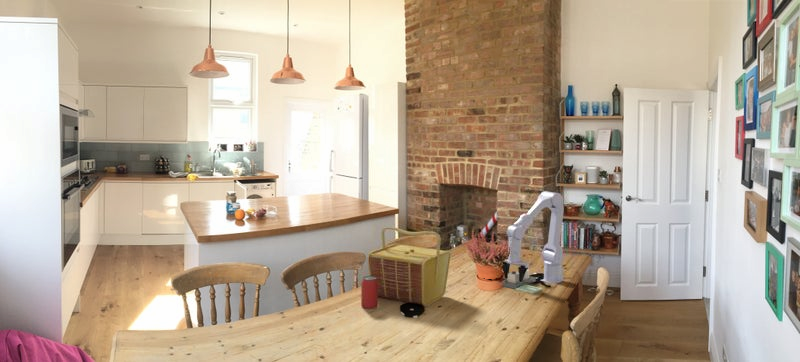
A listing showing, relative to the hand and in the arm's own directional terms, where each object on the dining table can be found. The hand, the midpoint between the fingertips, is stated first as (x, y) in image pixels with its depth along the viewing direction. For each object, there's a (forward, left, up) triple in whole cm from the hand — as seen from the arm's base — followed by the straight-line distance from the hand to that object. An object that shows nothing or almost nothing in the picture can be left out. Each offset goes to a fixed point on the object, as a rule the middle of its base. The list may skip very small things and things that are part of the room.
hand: (513, 279), depth 245 cm
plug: (0, 0, -3) cm, 3 cm away
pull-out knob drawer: (-9, 0, -3) cm, 10 cm away
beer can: (+68, -26, -3) cm, 73 cm away
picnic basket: (+47, -24, -3) cm, 53 cm away
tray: (+1, +8, -3) cm, 9 cm away
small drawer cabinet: (-4, 0, -3) cm, 6 cm away
